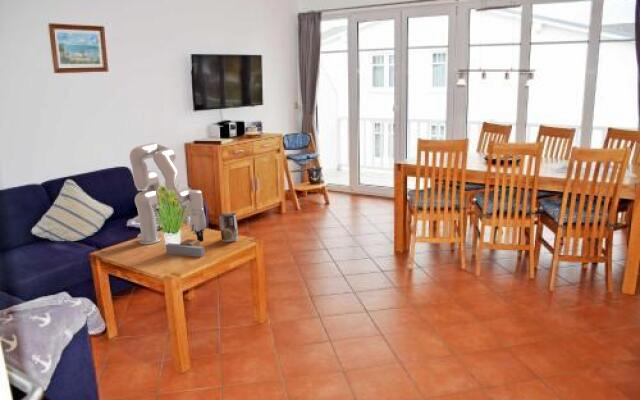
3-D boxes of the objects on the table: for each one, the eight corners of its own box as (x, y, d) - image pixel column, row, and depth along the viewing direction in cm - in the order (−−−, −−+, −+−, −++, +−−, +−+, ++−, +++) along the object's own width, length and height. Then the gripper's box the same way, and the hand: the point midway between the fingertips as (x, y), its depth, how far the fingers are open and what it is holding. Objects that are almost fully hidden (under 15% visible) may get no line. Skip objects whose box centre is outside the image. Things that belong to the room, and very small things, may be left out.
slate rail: (166, 253, 310) (165, 244, 308) (169, 251, 312) (168, 243, 311) (201, 257, 300) (200, 248, 299) (204, 255, 303) (203, 246, 302)
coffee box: (238, 238, 330) (236, 212, 326) (236, 241, 323) (233, 215, 319) (224, 238, 331) (221, 213, 327) (221, 241, 324) (218, 216, 320)
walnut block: (181, 252, 309) (180, 243, 308) (188, 248, 315) (187, 239, 314) (193, 254, 306) (191, 244, 305) (200, 250, 312) (199, 240, 311)
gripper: (199, 207, 323) (202, 236, 327) (184, 214, 310) (187, 244, 314) (209, 208, 320) (213, 237, 325) (194, 215, 307) (198, 245, 311)
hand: (200, 241), depth 319 cm, fingers closed
